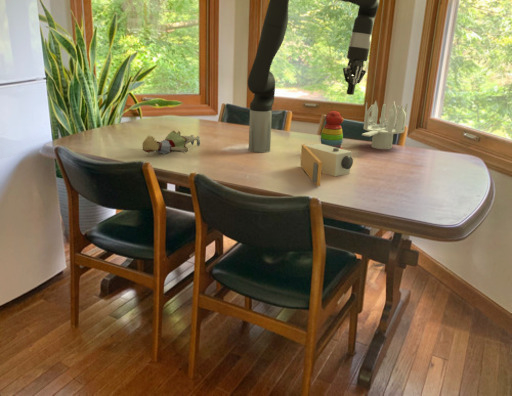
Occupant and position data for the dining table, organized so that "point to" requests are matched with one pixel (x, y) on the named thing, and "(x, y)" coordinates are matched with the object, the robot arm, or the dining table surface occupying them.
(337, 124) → the stacking bear
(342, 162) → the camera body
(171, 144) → the figurine
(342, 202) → the dining table surface
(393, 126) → the decorative object
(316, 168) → the side door
